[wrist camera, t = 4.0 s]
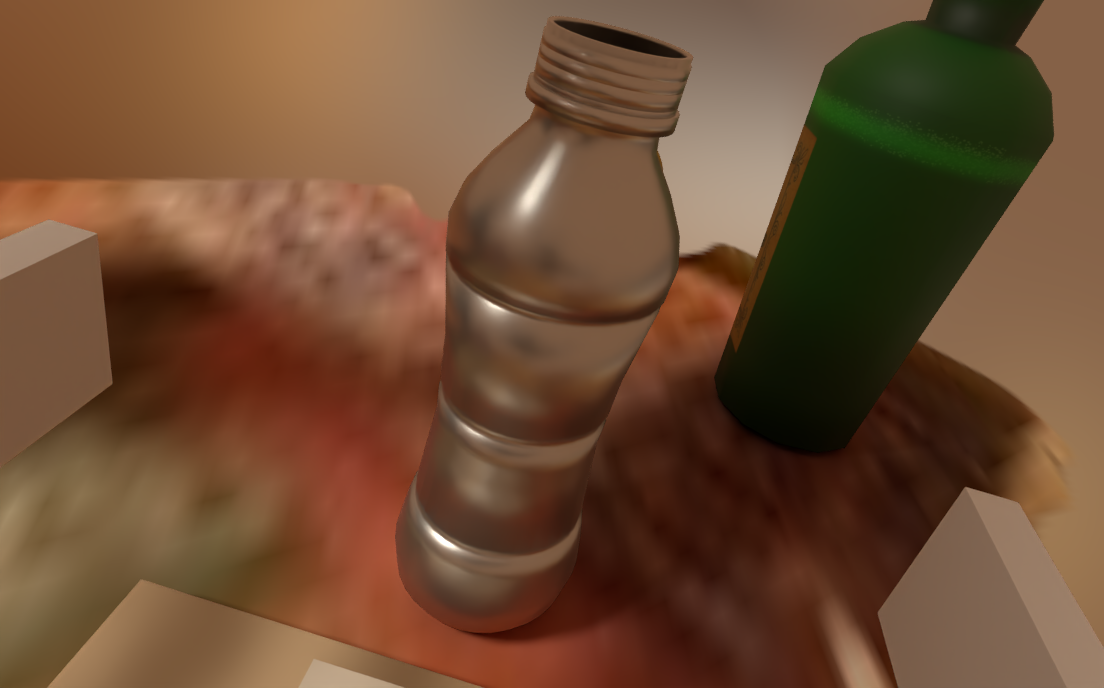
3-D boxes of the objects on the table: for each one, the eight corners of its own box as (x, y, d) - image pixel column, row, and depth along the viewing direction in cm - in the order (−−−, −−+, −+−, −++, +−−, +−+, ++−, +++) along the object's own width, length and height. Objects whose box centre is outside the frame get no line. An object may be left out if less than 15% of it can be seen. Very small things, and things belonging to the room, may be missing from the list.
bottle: (813, 367, 49) (1053, -101, 35) (902, 476, 41) (1271, -87, 26) (671, 352, 46) (870, -165, 32) (735, 467, 38) (1047, -172, 23)
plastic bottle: (588, 636, 27) (812, 96, 16) (409, 681, 24) (549, 51, 13) (524, 510, 31) (668, 28, 21) (368, 533, 28) (449, -17, 18)
